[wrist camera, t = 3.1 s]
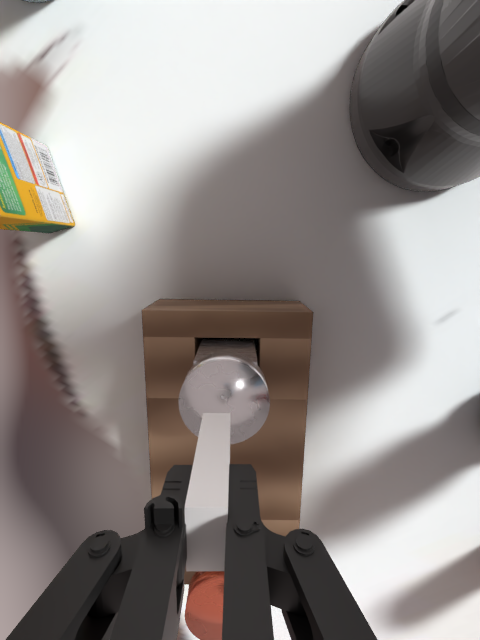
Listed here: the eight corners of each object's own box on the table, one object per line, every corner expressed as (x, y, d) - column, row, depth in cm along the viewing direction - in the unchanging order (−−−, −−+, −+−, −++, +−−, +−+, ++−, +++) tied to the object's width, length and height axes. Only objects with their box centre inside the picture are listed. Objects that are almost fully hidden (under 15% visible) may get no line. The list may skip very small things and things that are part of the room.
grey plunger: (193, 330, 28) (177, 360, 20) (262, 331, 28) (271, 361, 20) (194, 394, 29) (179, 444, 21) (260, 395, 29) (268, 445, 22)
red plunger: (196, 507, 31) (183, 585, 24) (257, 507, 31) (263, 586, 24) (197, 556, 33) (185, 645, 25) (255, 557, 33) (260, 645, 25)
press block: (159, 299, 32) (141, 310, 26) (299, 300, 32) (313, 312, 26) (169, 532, 38) (156, 584, 32) (286, 532, 38) (295, 584, 32)
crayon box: (16, 153, 29) (-127, 91, 17) (47, 145, 29) (-77, 76, 17) (47, 234, 30) (-67, 225, 19) (76, 226, 30) (-21, 212, 19)
